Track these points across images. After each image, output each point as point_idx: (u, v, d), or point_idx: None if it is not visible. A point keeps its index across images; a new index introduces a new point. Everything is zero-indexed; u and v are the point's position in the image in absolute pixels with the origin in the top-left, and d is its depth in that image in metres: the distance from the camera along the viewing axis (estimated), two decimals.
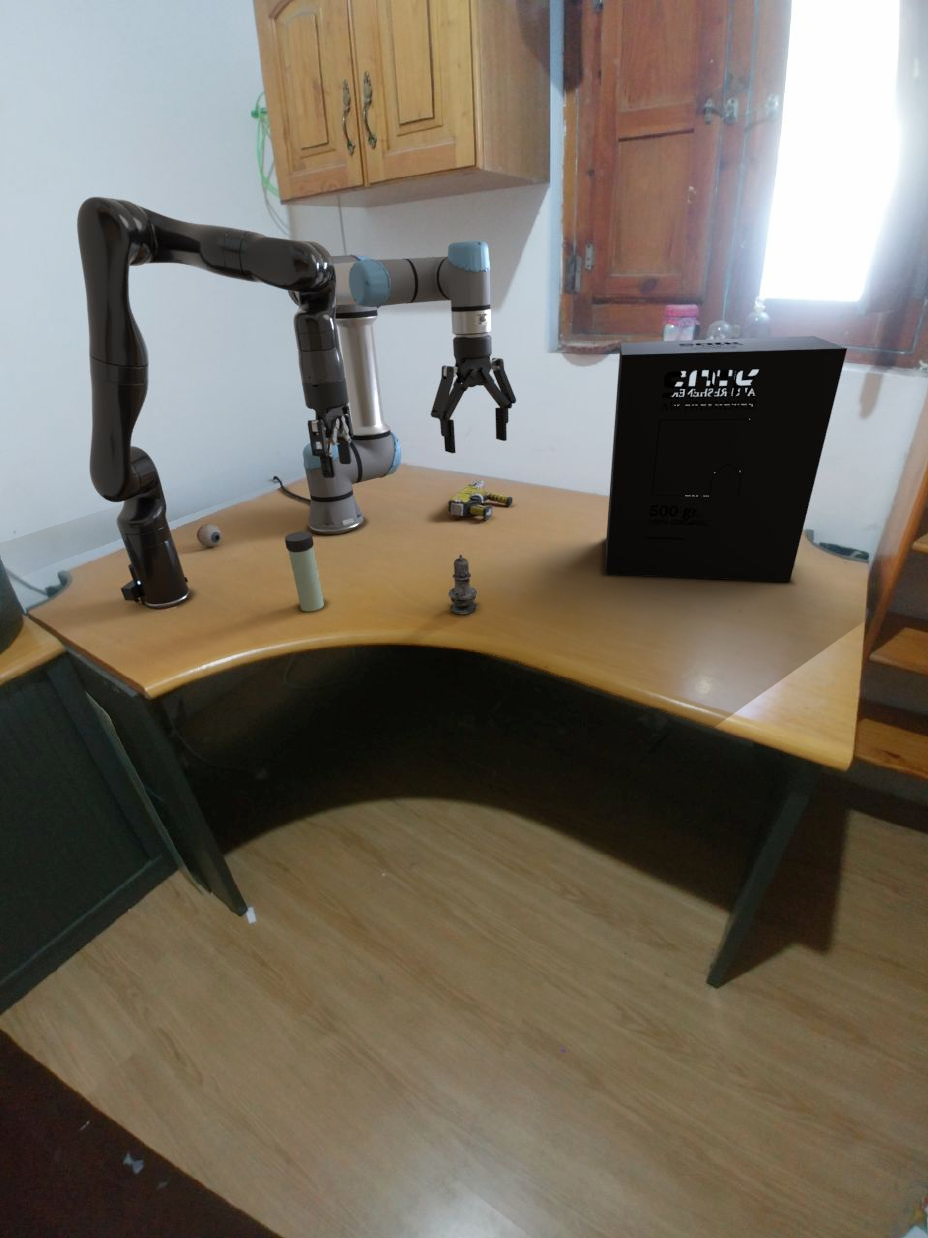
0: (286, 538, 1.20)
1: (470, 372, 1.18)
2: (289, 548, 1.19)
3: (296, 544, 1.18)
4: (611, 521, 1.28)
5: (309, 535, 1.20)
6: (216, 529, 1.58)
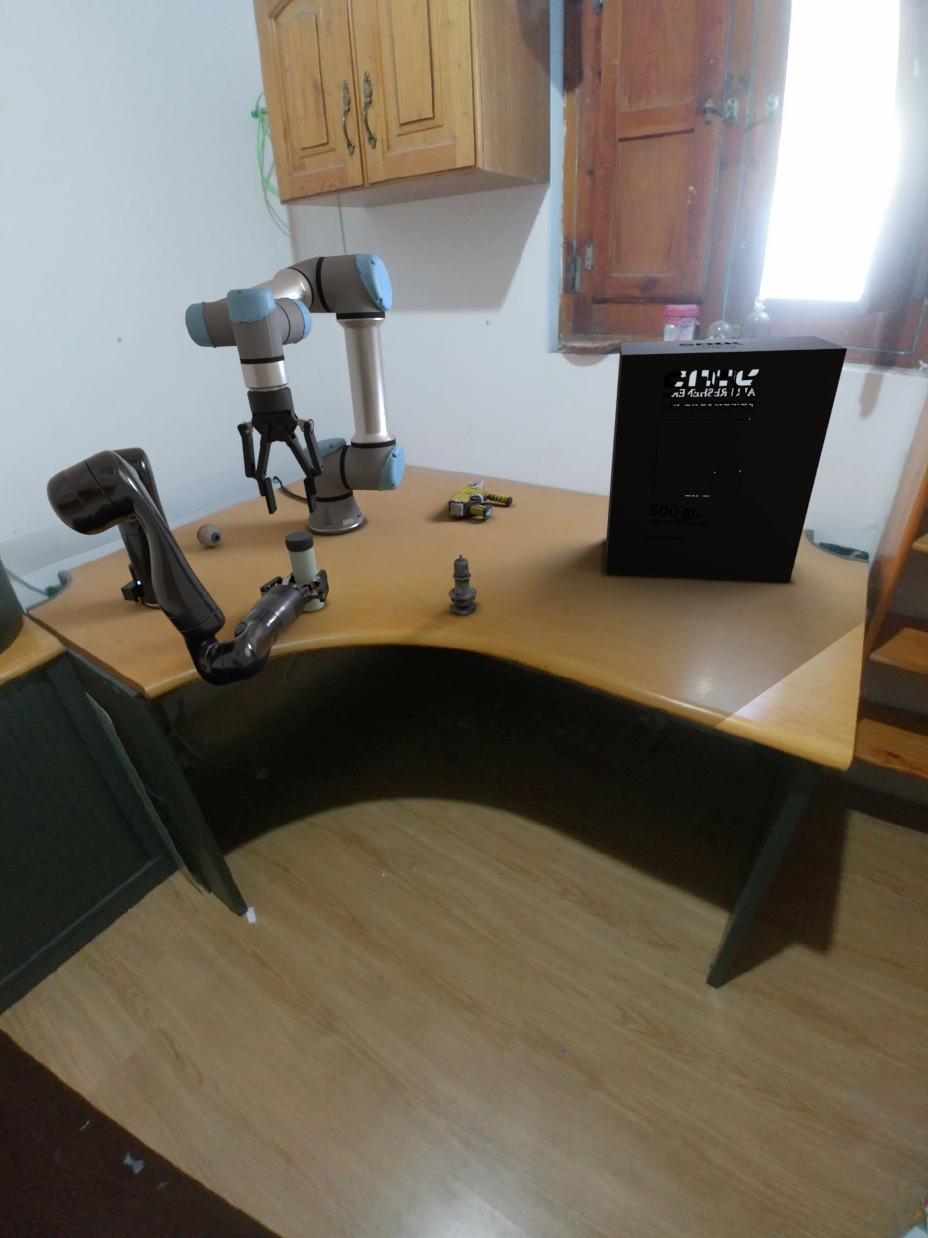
0: (286, 538, 1.20)
1: None
2: (289, 548, 1.19)
3: (296, 544, 1.18)
4: (611, 521, 1.28)
5: (309, 535, 1.20)
6: (216, 529, 1.58)
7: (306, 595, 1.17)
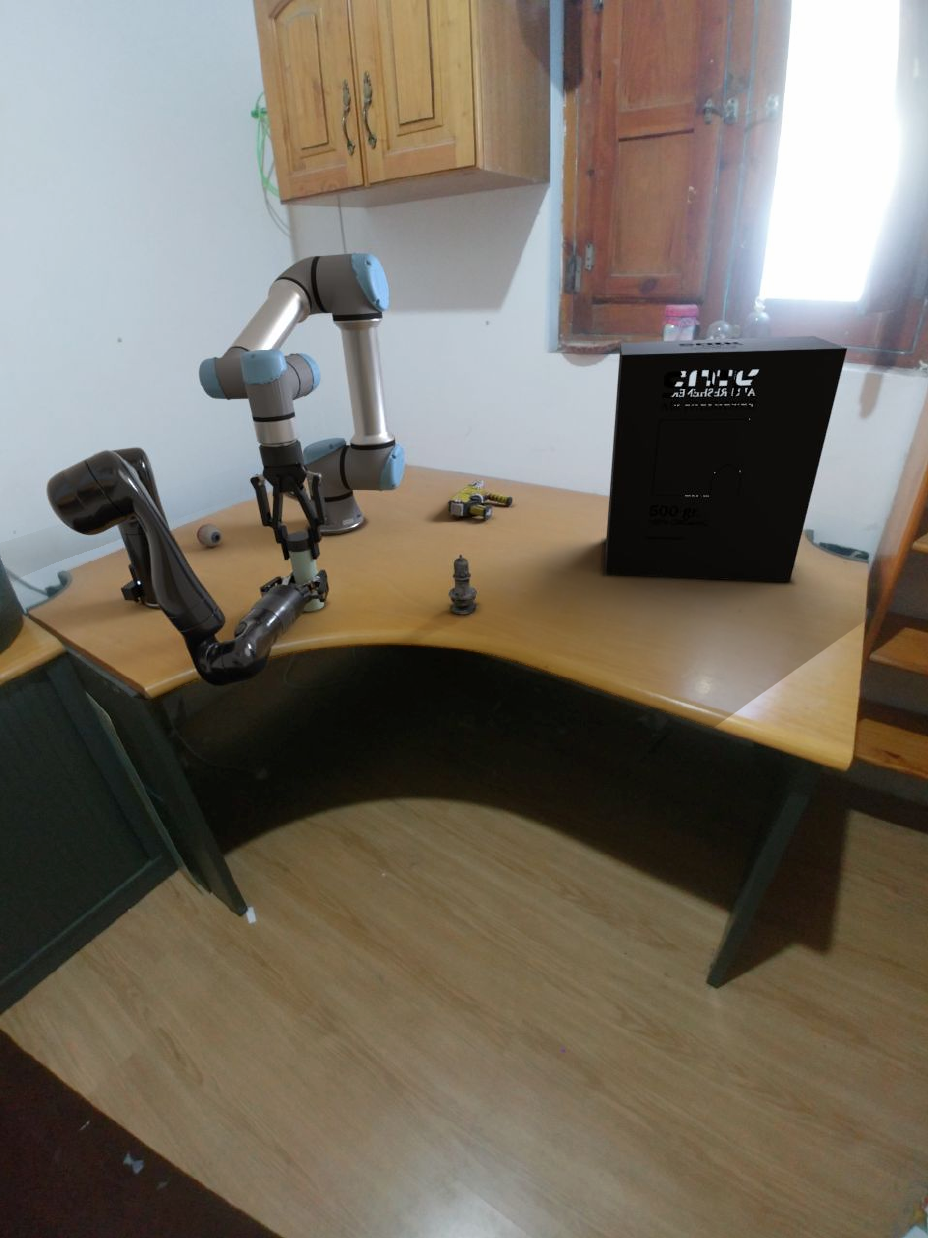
0: (286, 538, 1.20)
1: None
2: (289, 548, 1.19)
3: (296, 544, 1.18)
4: (611, 521, 1.28)
5: None
6: (216, 529, 1.58)
7: (306, 595, 1.17)
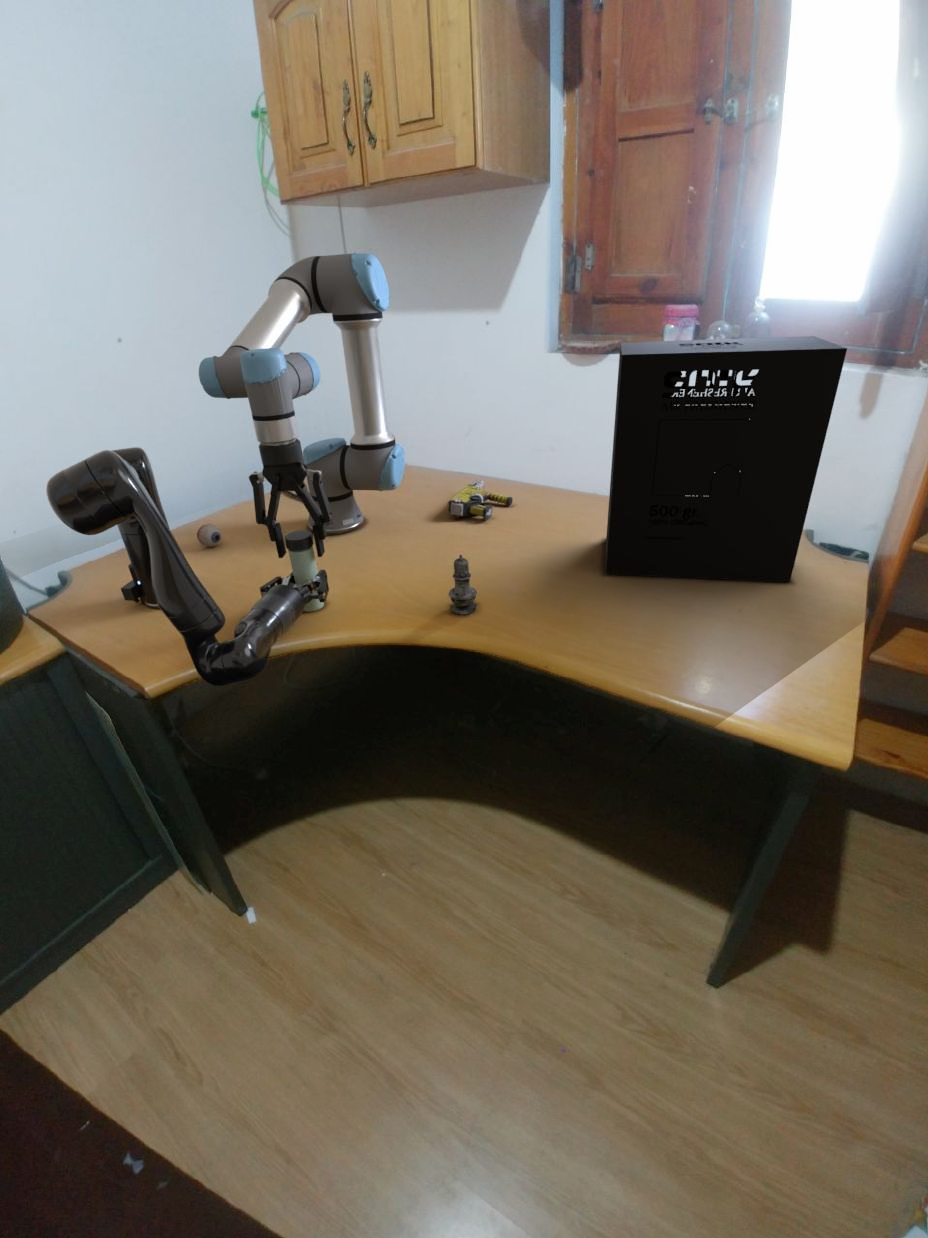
0: (297, 539, 1.18)
1: None
2: (305, 546, 1.19)
3: (310, 538, 1.20)
4: (611, 521, 1.28)
5: (303, 530, 1.22)
6: (216, 529, 1.58)
7: (306, 595, 1.17)
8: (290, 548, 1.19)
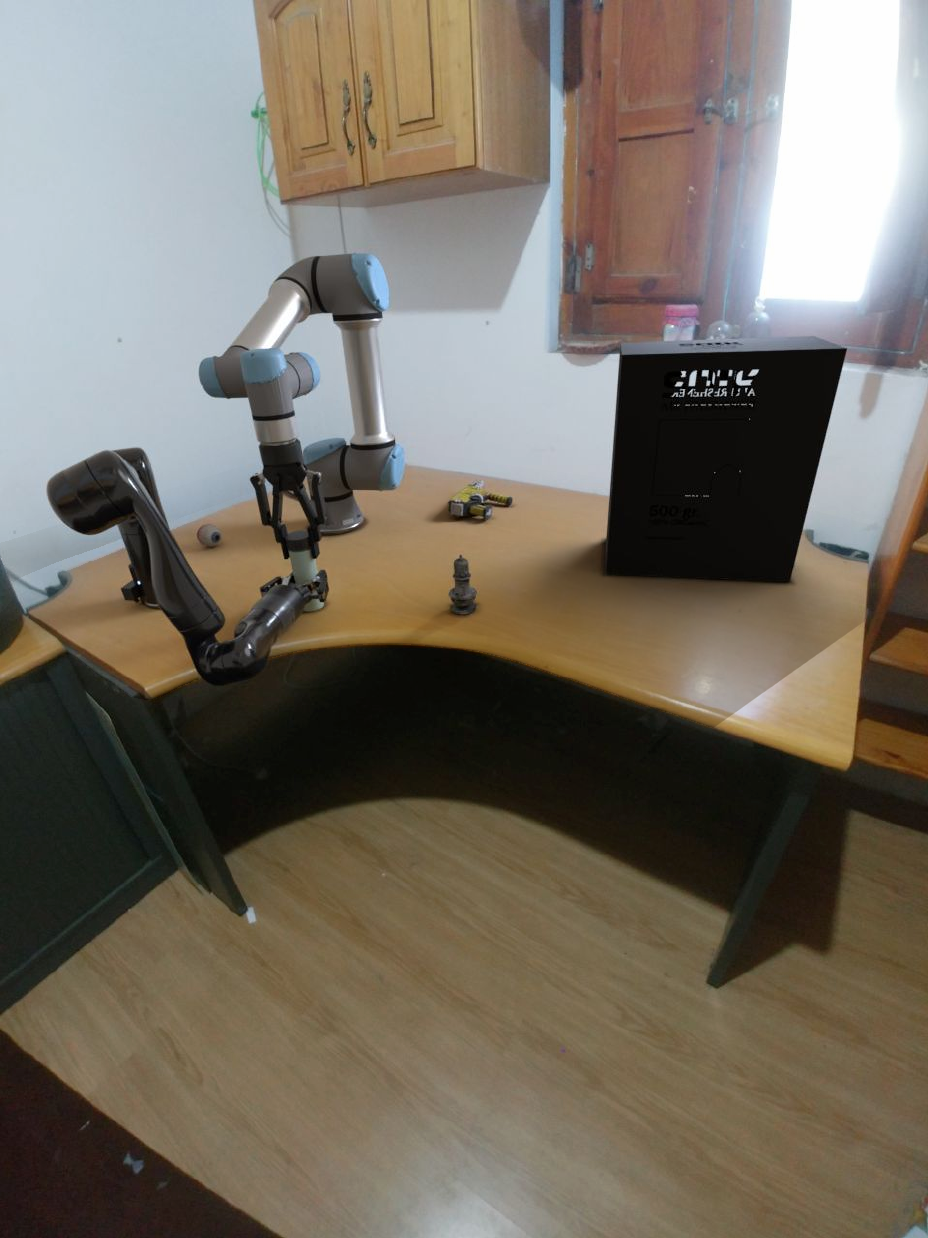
0: (297, 539, 1.18)
1: None
2: (305, 546, 1.19)
3: None
4: (611, 521, 1.28)
5: (303, 530, 1.22)
6: (216, 529, 1.58)
7: (306, 595, 1.17)
8: (290, 548, 1.19)
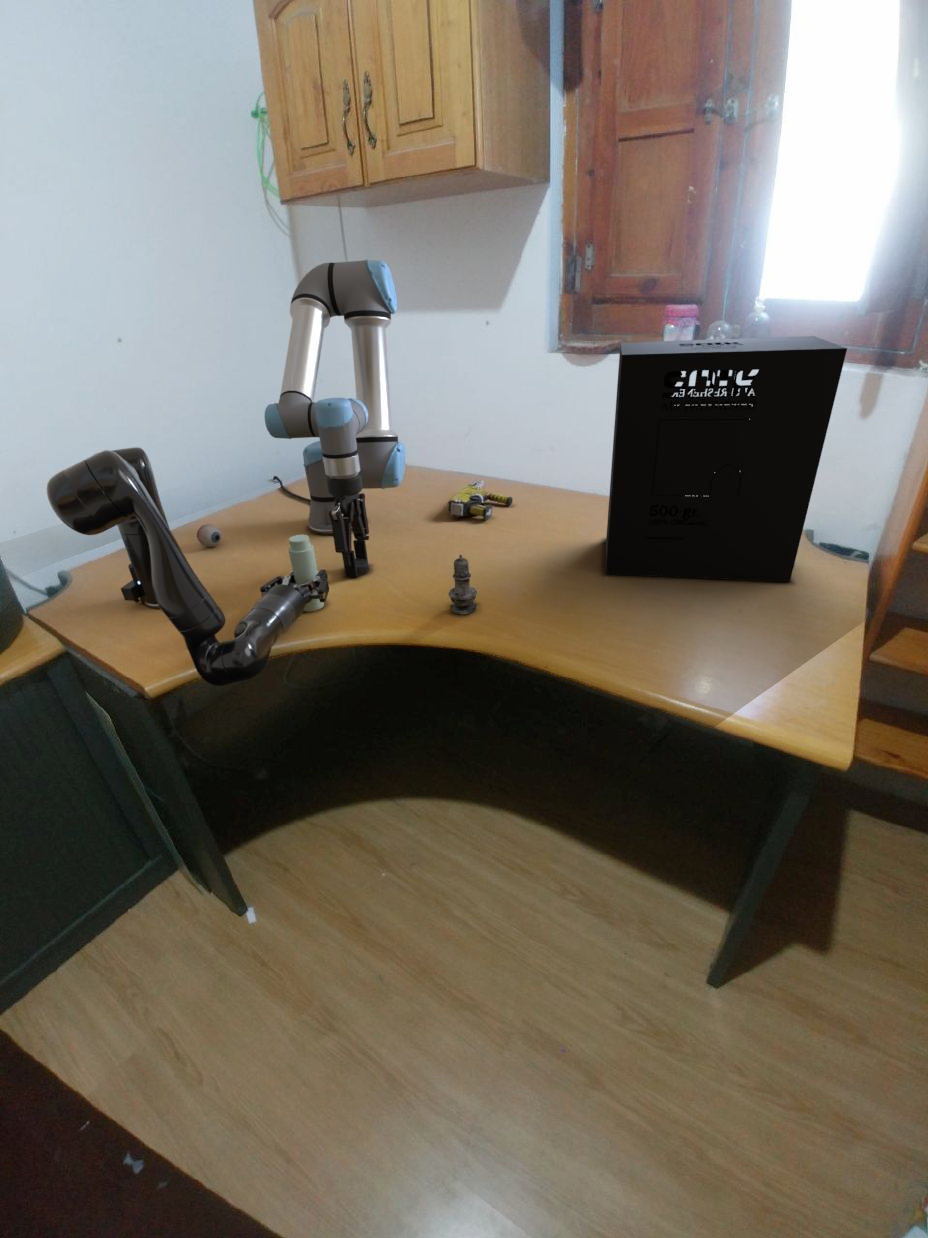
0: (366, 562, 1.41)
1: None
2: None
3: None
4: (611, 521, 1.28)
5: None
6: (216, 529, 1.58)
7: (306, 595, 1.17)
8: (364, 572, 1.40)
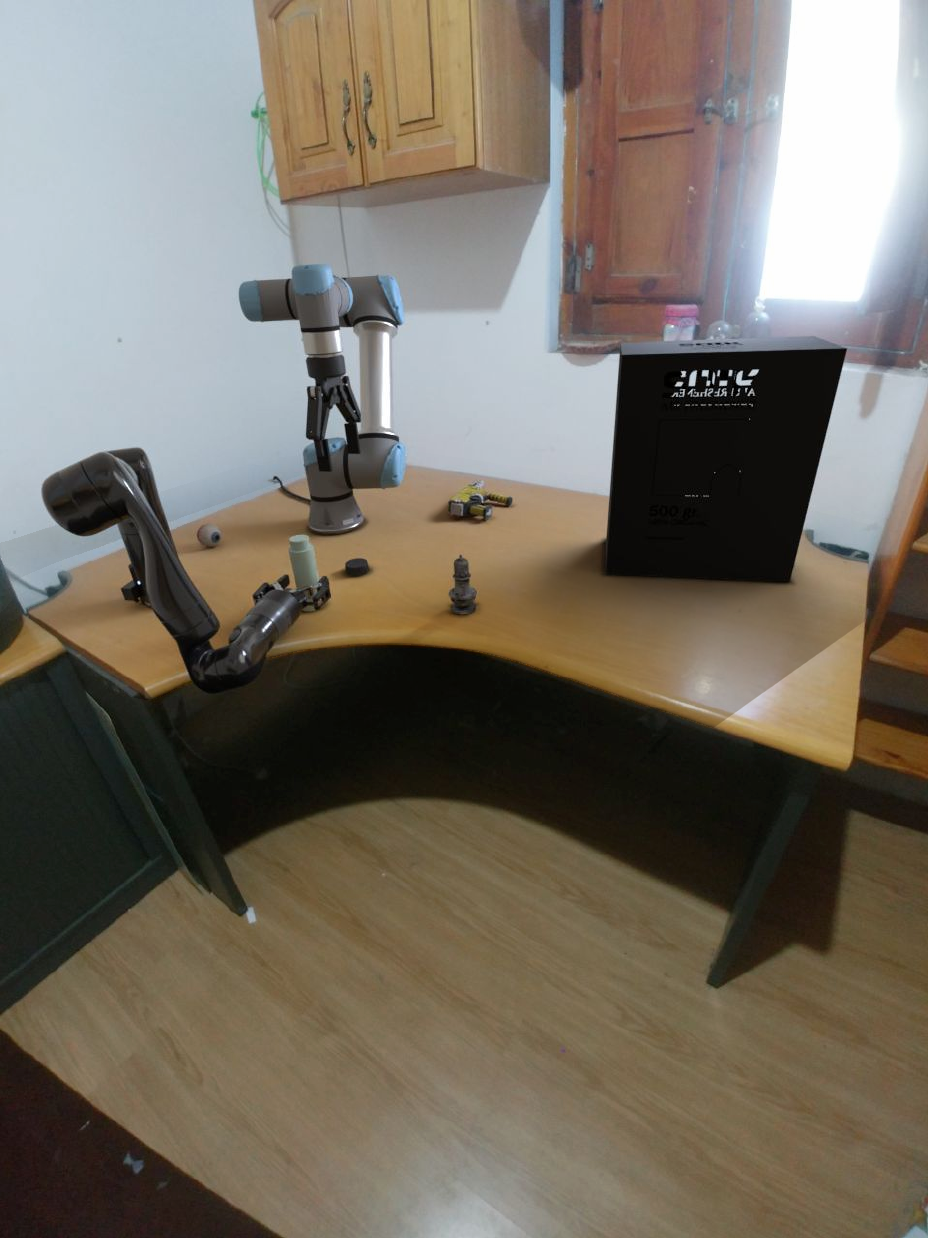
0: (366, 562, 1.41)
1: None
2: None
3: None
4: (611, 521, 1.28)
5: (348, 561, 1.42)
6: (216, 529, 1.58)
7: (302, 600, 1.15)
8: (364, 572, 1.40)
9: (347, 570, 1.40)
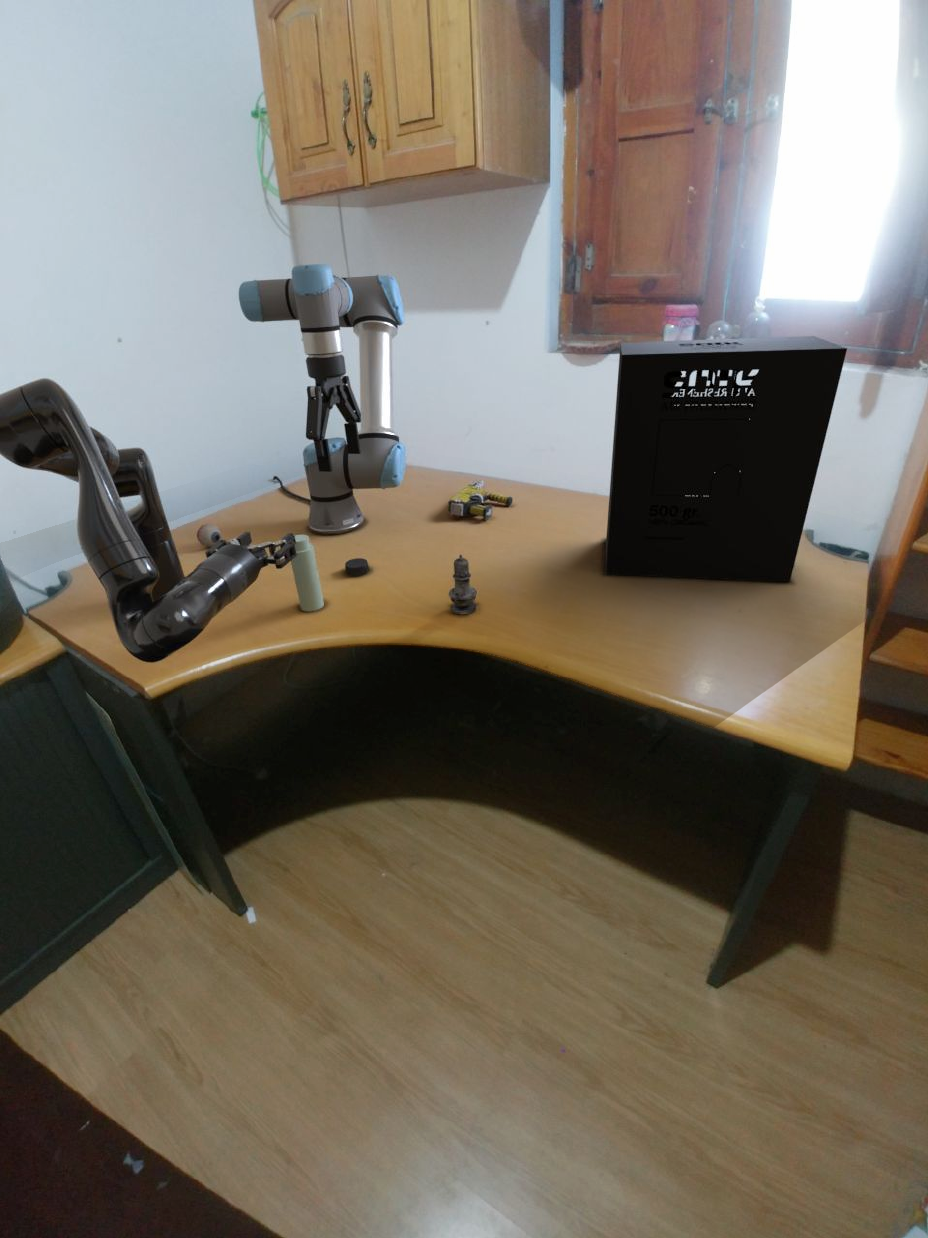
0: (366, 562, 1.41)
1: None
2: None
3: None
4: (611, 521, 1.28)
5: (348, 561, 1.42)
6: (216, 529, 1.58)
7: (262, 557, 1.00)
8: (364, 572, 1.40)
9: (347, 570, 1.40)
